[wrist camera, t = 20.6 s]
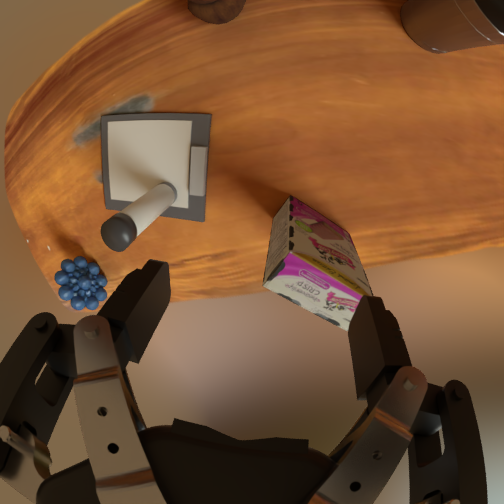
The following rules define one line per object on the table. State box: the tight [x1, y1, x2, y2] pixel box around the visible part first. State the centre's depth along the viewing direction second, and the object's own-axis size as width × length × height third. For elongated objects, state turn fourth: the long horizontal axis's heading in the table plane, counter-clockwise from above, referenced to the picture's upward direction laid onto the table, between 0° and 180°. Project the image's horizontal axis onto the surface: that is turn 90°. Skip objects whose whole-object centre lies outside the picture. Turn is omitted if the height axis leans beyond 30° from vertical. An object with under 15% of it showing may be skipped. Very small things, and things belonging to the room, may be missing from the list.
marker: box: [101, 182, 177, 252], centre depth 32 cm, size 4×4×14 cm
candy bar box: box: [263, 195, 373, 331], centre depth 32 cm, size 11×5×16 cm, turn 60°
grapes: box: [55, 256, 107, 310], centre depth 44 cm, size 12×7×12 cm, turn 27°
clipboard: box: [101, 113, 212, 222], centre depth 37 cm, size 16×18×2 cm
